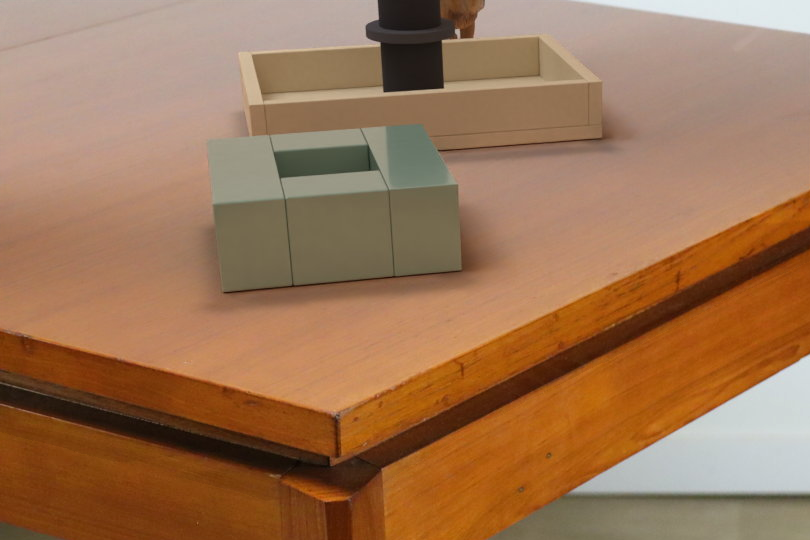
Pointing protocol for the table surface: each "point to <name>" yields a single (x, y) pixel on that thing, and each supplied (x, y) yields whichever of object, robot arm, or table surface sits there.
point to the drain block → (332, 207)
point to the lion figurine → (462, 15)
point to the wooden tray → (428, 93)
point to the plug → (410, 43)
